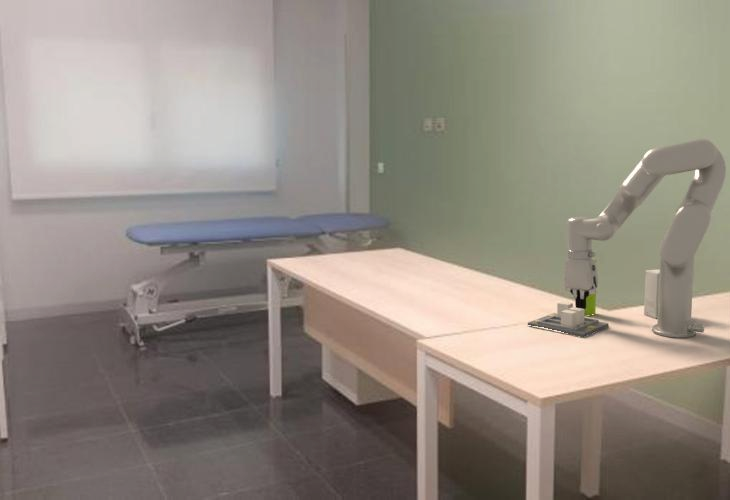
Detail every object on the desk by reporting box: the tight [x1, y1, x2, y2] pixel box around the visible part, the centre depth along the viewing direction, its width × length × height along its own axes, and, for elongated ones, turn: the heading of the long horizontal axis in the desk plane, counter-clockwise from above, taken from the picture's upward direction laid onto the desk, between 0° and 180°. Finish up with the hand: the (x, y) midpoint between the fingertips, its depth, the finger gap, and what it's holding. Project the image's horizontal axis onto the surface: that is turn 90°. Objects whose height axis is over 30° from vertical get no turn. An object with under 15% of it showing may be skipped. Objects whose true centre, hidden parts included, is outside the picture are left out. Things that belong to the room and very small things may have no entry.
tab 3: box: [568, 306, 585, 325], centre depth 221 cm, size 4×3×5 cm
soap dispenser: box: [580, 257, 597, 315], centre depth 236 cm, size 6×7×20 cm
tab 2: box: [561, 310, 577, 328], centre depth 218 cm, size 4×3×5 cm
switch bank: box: [527, 312, 610, 338], centre depth 223 cm, size 20×16×2 cm
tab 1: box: [556, 301, 574, 317], centre depth 228 cm, size 4×3×5 cm
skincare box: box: [643, 269, 660, 319], centre depth 232 cm, size 8×7×16 cm
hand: (580, 309), depth 224 cm, fingers closed
